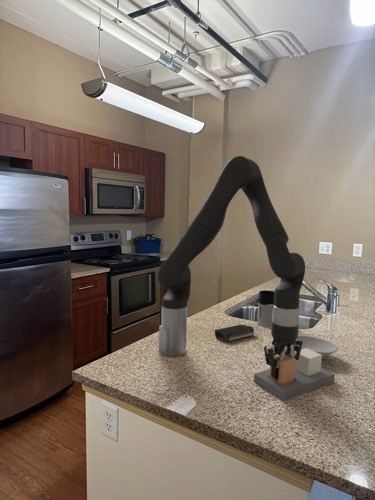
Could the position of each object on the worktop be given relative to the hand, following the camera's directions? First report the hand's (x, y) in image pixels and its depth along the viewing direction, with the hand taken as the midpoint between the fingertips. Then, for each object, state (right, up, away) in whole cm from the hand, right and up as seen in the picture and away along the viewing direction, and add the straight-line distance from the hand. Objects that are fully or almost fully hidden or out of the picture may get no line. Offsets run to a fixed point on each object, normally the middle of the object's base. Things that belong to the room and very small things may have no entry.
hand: (281, 376), depth 102 cm
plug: (0, -2, 0) cm, 2 cm away
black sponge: (-9, +1, +40) cm, 41 cm away
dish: (+17, -1, +22) cm, 28 cm away
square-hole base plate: (+5, -3, +3) cm, 6 cm away
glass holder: (+5, +3, +56) cm, 56 cm away
